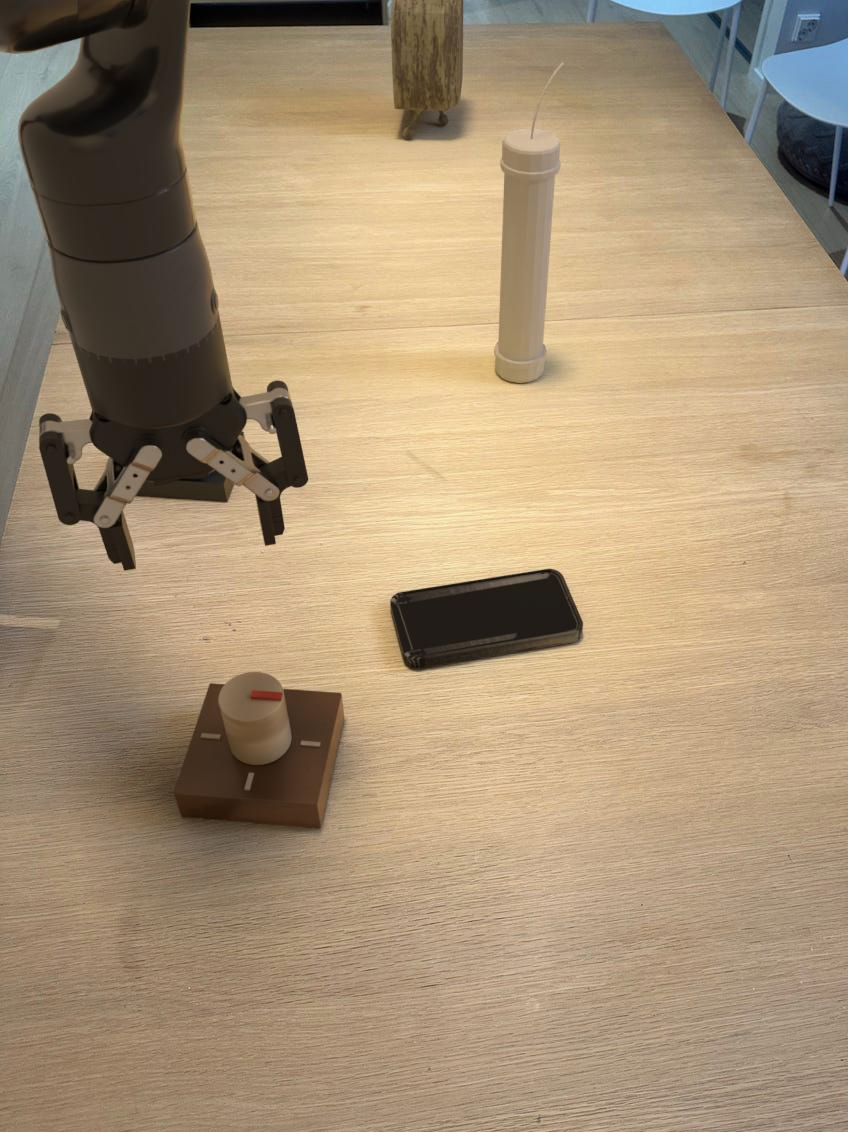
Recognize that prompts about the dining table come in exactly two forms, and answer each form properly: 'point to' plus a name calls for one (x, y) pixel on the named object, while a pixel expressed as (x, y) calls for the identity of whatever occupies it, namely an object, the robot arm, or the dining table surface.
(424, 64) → the tabletop clock
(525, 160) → the dynamite stick
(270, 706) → the dial
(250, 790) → the panel
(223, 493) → the button block
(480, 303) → the dining table surface
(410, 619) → the phone
